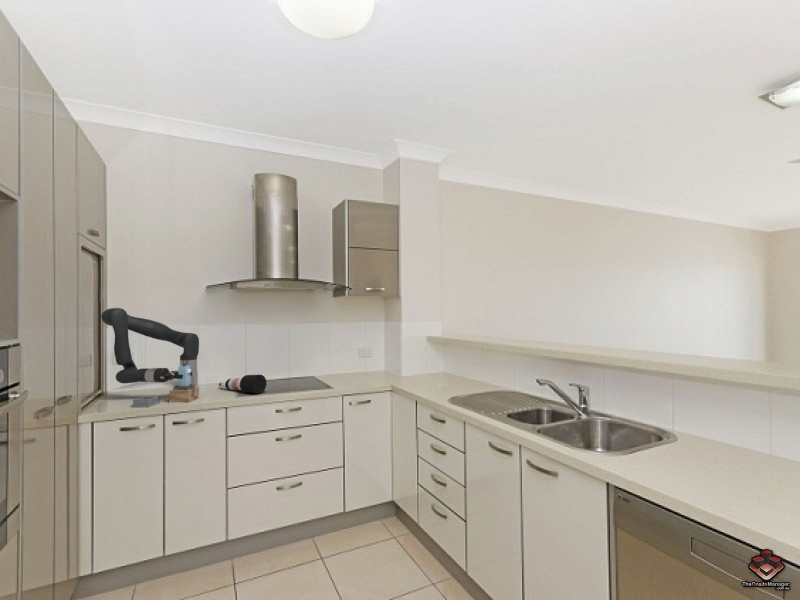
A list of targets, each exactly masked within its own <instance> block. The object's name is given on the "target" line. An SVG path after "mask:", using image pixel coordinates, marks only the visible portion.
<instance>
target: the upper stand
mask: <svg viewBox="0 0 800 600" xmlns="http://www.w3.org/2000/svg"><path fill="white" fill-rule="evenodd" d="M199 390H200V388H199V386H197V387H195V384H190V385H188V386H178V384H177V385H176V384H175V385H174V386H173V389H170V390H169V391H168V393H169V394H168V397H169V398H168V399H169V400H168V402H185V403H187V404H188V402H189V403H190V402H193V401H196V400H197V399H199V397H200V396H199V395H200V393H199Z"/></svg>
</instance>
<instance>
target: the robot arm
mask: <svg viewBox="0 0 800 600" xmlns="http://www.w3.org/2000/svg"><path fill="white" fill-rule="evenodd" d="M100 317H101V321H102V322H103V323H104V324H106V325H107V326H111V327H112V329H113V332H114V343H113V353H114V357H115V362H116V364H117V365H118V366H122V367H123V369H121V370H119V371H118V372H117V373H116V374H115V380H116V381H117V382H118V383H120V384H132V383H133V384H134V383H140V382H141V383H142V382H143V383H166V382H168V381H172V380H178V379H182V378H183V375H182V374H178V370H171V371H170V369H169V368H166V367H151V368H145V367H144V368H143V367H142V368H139V369H138V368H137V366H136V363H135V362H134V359H133V357H132V353H131V347H130V341H129V340H130V339H129V331H131V332H134V333H136V334H138V335H142V336H145V337H148V338H151V339H154V340H158V341H165V342H168V343H172V344H173V345H175V346H178V347H180V348H183V352H182V353H181V355H180V356H179V366H183V360H186V366H190V369H191V372H190V384H195V387H199V386H198V383H199V382H198V381H199V379H198V377H199V376H198V372H199V371H198V356H199V351H200V338H199V336H198V335H197V334H196V333H193V332H183V331H178V330H175V329H172V328H171V327H169V326H167V325H165V324H163V323H161V322H159V321H157V320H152V319H149V318H144V317H143V318H142V317H137V316H132V315H130V314H128V313H127V311H126V310H125V309H124V308H120V307H113V308H112V307H111V308H107V309H105V310H104V311H103V312H102V313H101V316H100Z"/></svg>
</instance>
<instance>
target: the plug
mask: <svg viewBox="0 0 800 600" xmlns="http://www.w3.org/2000/svg"><path fill="white" fill-rule="evenodd" d="M177 368H178V370H177V371H178V374H182V375H183V378H182V379H177V382H178V384H177V385H178V386H188V385H190V372H191V369H190V366H186V360H183V366H180V365H179V366H178V367H177Z"/></svg>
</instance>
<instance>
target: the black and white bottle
mask: <svg viewBox="0 0 800 600" xmlns="http://www.w3.org/2000/svg"><path fill="white" fill-rule="evenodd" d="M267 383H268V382H267V378H266V377H265V375H262V374H246V375H244V376H243V377H236V378H227V379H226V378H225V379H223V380H222V382H219V383H218V384H217V385H218V387H221V388H222V389H223V390H230V391H241V392H243V393H245V394H260V393H262V392H264V391H265V390H266V387H267Z"/></svg>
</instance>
